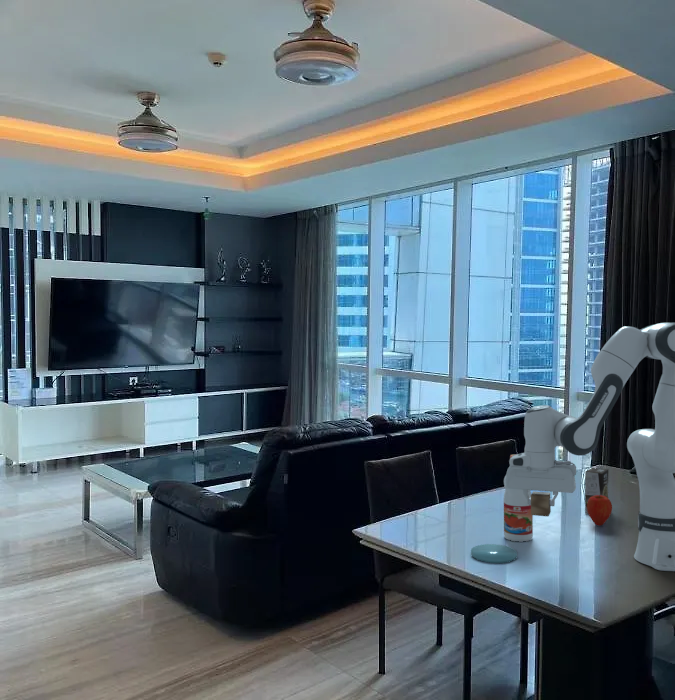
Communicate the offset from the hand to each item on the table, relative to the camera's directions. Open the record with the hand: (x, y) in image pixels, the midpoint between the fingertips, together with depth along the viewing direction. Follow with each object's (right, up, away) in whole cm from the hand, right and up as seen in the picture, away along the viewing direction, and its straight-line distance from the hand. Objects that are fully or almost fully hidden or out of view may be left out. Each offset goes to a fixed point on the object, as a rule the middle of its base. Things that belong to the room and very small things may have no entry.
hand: (540, 504), depth 207 cm
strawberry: (+31, -16, +36) cm, 50 cm away
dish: (-13, -17, +7) cm, 22 cm away
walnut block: (0, -3, 0) cm, 3 cm away
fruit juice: (-1, -17, +23) cm, 28 cm away
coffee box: (+37, -15, +52) cm, 65 cm away
